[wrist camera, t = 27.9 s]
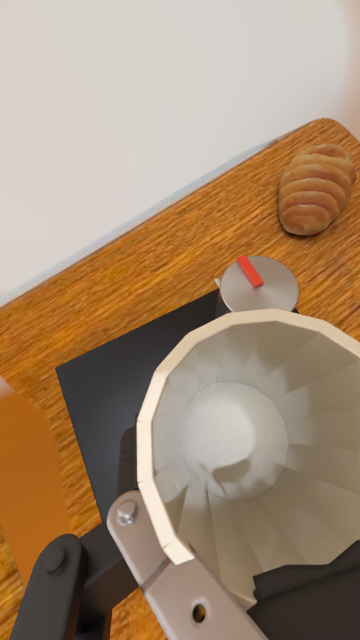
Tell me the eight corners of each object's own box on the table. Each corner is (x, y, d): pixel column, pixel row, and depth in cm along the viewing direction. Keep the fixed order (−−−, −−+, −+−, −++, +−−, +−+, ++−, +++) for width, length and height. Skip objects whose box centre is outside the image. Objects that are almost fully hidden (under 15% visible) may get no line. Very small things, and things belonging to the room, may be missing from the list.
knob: (286, 335, 19) (318, 301, 14) (232, 360, 19) (244, 334, 14) (255, 288, 21) (273, 241, 16) (205, 309, 20) (207, 269, 15)
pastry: (333, 249, 25) (354, 219, 21) (261, 231, 26) (271, 200, 23) (348, 181, 28) (369, 145, 24) (284, 168, 29) (295, 132, 26)
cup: (249, 358, 17) (307, 272, 8) (317, 465, 15) (519, 520, 5) (154, 409, 16) (97, 377, 7) (208, 531, 14) (229, 733, 4)
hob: (254, 274, 24) (261, 256, 22) (361, 416, 19) (385, 414, 17) (66, 366, 22) (50, 357, 19) (129, 556, 17) (117, 577, 14)
